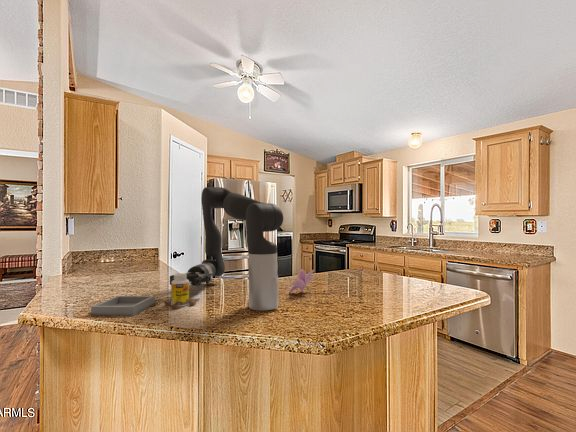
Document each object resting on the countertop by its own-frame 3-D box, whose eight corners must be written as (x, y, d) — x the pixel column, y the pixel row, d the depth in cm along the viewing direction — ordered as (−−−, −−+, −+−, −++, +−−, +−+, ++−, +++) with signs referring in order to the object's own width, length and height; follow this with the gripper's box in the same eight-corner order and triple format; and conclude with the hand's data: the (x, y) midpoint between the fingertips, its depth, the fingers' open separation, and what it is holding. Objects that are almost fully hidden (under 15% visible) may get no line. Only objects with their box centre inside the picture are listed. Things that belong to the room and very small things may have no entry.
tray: (154, 303, 104) (154, 296, 104) (133, 315, 91) (133, 306, 91) (117, 303, 104) (117, 296, 104) (91, 315, 91) (91, 306, 91)
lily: (319, 293, 121) (308, 270, 124) (328, 287, 110) (316, 263, 113) (292, 305, 117) (282, 282, 120) (298, 300, 106) (287, 275, 109)
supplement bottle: (173, 308, 98) (173, 276, 98) (169, 304, 102) (169, 274, 103) (191, 305, 101) (191, 274, 101) (186, 302, 106) (186, 272, 106)
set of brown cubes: (199, 301, 106) (199, 297, 106) (189, 309, 97) (189, 305, 97) (172, 301, 107) (172, 297, 107) (159, 309, 97) (159, 305, 97)
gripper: (182, 264, 121) (163, 271, 105) (217, 264, 120) (204, 271, 104) (182, 283, 121) (163, 293, 105) (218, 283, 120) (204, 293, 104)
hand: (183, 282), depth 104 cm, fingers open, 8 cm apart
